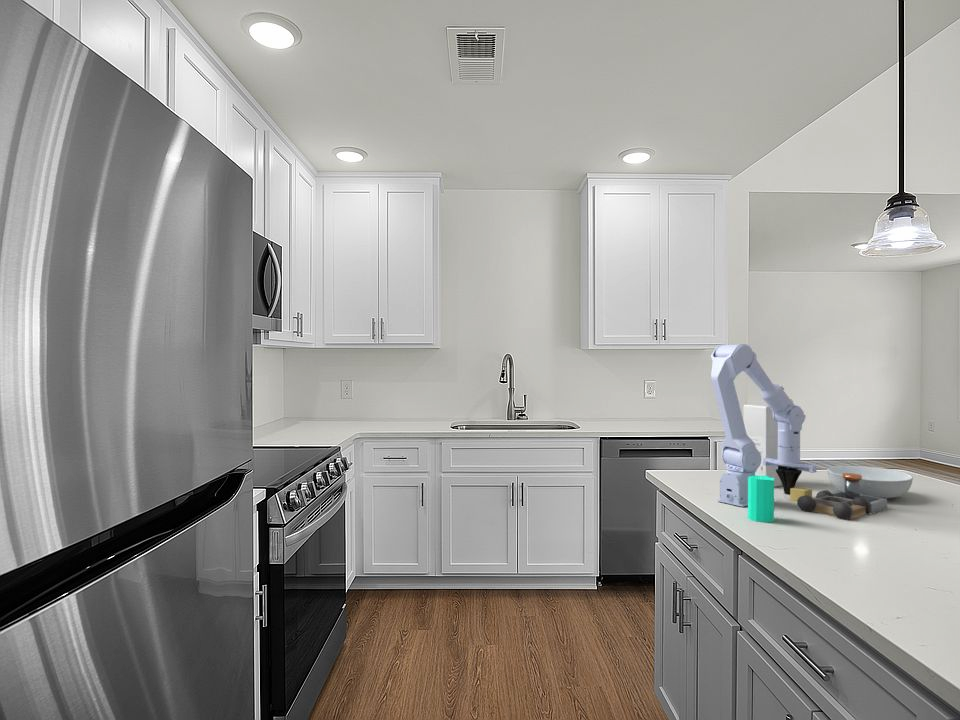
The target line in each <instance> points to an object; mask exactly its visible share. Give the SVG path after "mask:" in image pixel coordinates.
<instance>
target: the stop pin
mask: <svg viewBox="0 0 960 720" xmlns="http://www.w3.org/2000/svg"><path fill="white" fill-rule="evenodd" d="M843 478H844V479H845V491H844V498H846V499H852V500H853V499H854V498H857V497H860V480H862V475H860V474H854V473H843Z"/></svg>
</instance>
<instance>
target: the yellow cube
mask: <svg viewBox="0 0 960 720" xmlns="http://www.w3.org/2000/svg"><path fill="white" fill-rule="evenodd" d="M804 495H809V496H811V497H812V498H813V489H812V488H809V487H808V488H807V487H802V486H795V487H794V488H790V495H789V496H790V497H789V498H790V499H789V500H790V502H791V501H792V502H796V503H797V500H798V498H799V497H801V496H804Z"/></svg>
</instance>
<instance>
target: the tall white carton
mask: <svg viewBox="0 0 960 720" xmlns="http://www.w3.org/2000/svg"><path fill="white" fill-rule="evenodd" d="M742 417H743V421H744V425H745V429H746V433H747V435H748V437H749V438H750V439H751V440H752V441H753V442H754V443H755V446H756V449H757V450H758V451H759V452H760V454H761V464H760V466H759V467H758V469H757V472H755V475H764V476H768V477H770V478H774V488H775V487H783V485H782V482H781V480H780V478H779V476H778V474H777V473H776V469H778V467H775V466H769V465H763V458H771V459H778V422H777V421H775V420H774V419H773V412H772V410H771V408H770V407H769V406H768V405H767V403H754V404H753V403H752V404H751V403H750V404H748V403H747V404H744V405H743V416H742Z"/></svg>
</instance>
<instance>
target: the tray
mask: <svg viewBox="0 0 960 720" xmlns="http://www.w3.org/2000/svg"><path fill="white" fill-rule="evenodd" d="M831 493H832V494H833V496H834V497H838V498H843V499H846V498H844V491H841V490H837V491H834V492H831ZM860 497H865V498H866V499H868V500H869V502H870V504H871V508H870V510H869V511H868V512H866V514H870V515H871V514H875V513H877V511H878V512H881V511H884V510H887V509H888V504H887V503H888V498H886V499H883V498H878V497H872V496H866V495H861V494H860ZM849 500H852V499H849ZM886 508H887V509H886ZM883 509H884V510H883ZM880 510H881V511H880ZM874 512H875V513H874Z"/></svg>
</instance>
